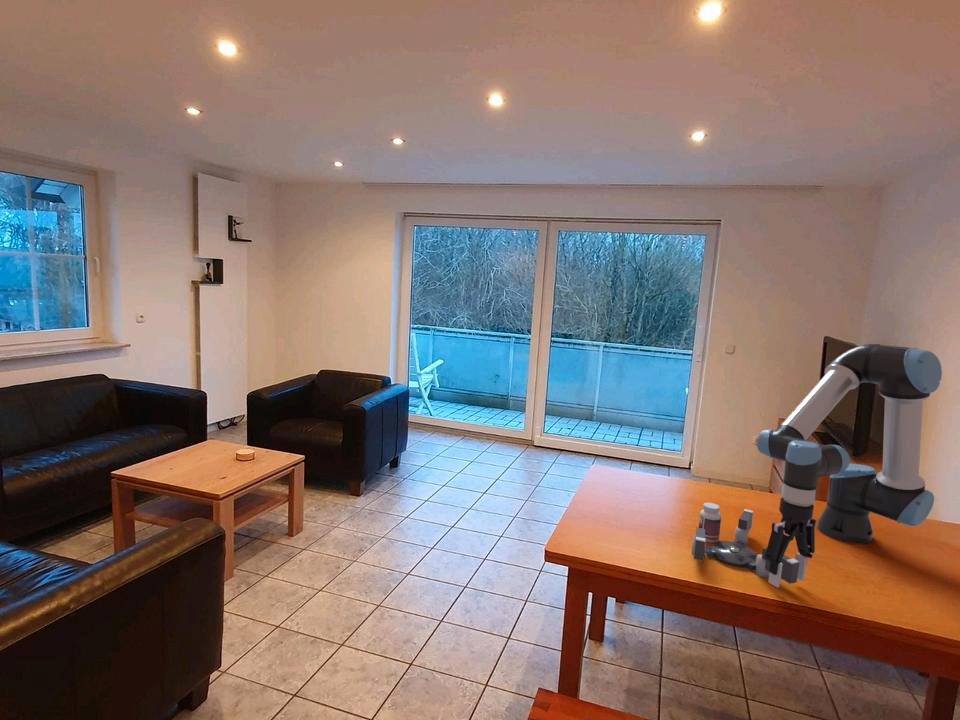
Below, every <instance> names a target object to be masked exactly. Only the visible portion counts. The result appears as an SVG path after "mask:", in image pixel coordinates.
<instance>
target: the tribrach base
mask: <svg viewBox="0 0 960 720" xmlns="http://www.w3.org/2000/svg"><path fill="white" fill-rule="evenodd" d="M705 555H706V557H708V558H714V559H716V560H717V561H718V562H721V563H722V564H725V565H727V566H731V567H735V568H744V569H745V568H746V569H747V570H749V571H750V572H755V571H756V563H757V553H756V552H755V550H753V549H752V548H750V547H749V546H745V544H744V543H741V542H737V541H734V540H733V541H731V540H718V541H716V542H714V543H711V547H710V546H705Z"/></svg>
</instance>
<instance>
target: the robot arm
mask: <svg viewBox="0 0 960 720" xmlns="http://www.w3.org/2000/svg"><path fill="white" fill-rule="evenodd" d="M938 357H939V356H937V355H936V354H935V353H934V352H932V351H930V350H925V349H919V348H916V347H905V346H895V345H886V344H885V345H884V344H880V343H879V344H878V343H867V344H866V343H865V344H862V345H858V346H856V347H853V348H851V349H848V350H846V351H845V352H843V353H841V354H840V355H839V356H837V357H835V358H834V359H833V360H832V361H831V362H830V363H829V364H828V365H826V368H825V369H824V375H823V377H821V378H820V379H819V381H818V382H817V383H816V384H815V385H814V386H813V387H812V389H811V390H810V391H809V392H808V393H807V394H806V396H805V397H804V398H803V399H802V400H801V401H800V402H799V404H798V405H796V406H795V408H794V409H793V410H792V411H791V412H790V413H789V415H788V416H787V417H786V418H785V419H784V420H783V421H782V422H781V424H779V426H778V427H776V429H775V430H774V429H770V428H769V429H764V430H762V431H761V432H760V433H759V434H758V436H757V439H756V447H757V450H758V451H759V453H761V454H763V455H765V456H767V457H769V458H771V459H776V460H779V461H781V462H784V473H783V479H782V481H783V482H782V488H781V498H780V501H779V508H778V509H779V511H778V512H779V513H780V514H781V515H782V518H781V520H780V522H779V523H777V522H772V524H771V532H770V536H769V540H768V544H767V546H766V547H767V550H766V553H765V558H766V559H767V560H769V561H770V569H769V571H770V574H769V578H768V583H769V584H771V585H773V586H774V587H776V588H780V585H781V580H782V579H781V572H782V565H783V564H782V563H780V562H781V560H782V558H783V555H785V553H786V551H787V549H788V547H789V544H790V542H791V541H793V540H794V539H795V543H796V547H797V551H798V552H796V553H795V555H794V556H795V557H794V559H795V560H797V561H799V569H798V576H797V580H800V581H802V582H804V581H805V574H806V568H807V565H808V564H807V563H808V559H812V558H813V554H814V553H815V551H816V545H815V539H816V538H815V537H816V535H815V527H817V529H818V530H819V531H820V532H821V533H823V534H824V535H826V536H828V537H831V538H832V539H836V540H839V541H843V542H847V543H851V544H852V543H853V544H861V545H863V544H868V543H871V542H872V541H873V535H874V532H873V528H872V524H871V523H872V522H871V520H870V513H873V514H876V515H878V516H881V517H884V518H886V519H889V520H892V521H894V522H896V523H898V524H903V525H906V526H909V527H917V526H919V525H921V524H922V523H923V522H924V521H925V520H926V519H927V518H928V516H929V515H930V513H931V511H932V509H933V506H934V502H935V495H934V494H933V492H932V491H930V490H928V489H927V490H926V482H925V479H924V478H923V477H922V476H921V475H920V458H921V440H922V423H923V421H922V420H923V419H922V418H923V405H924V404H923V403H924V401H925V400H927V399H928V398H930V396H931V394H932V393H934V392H935V391H937V390H938V388H939V387H940V385H941V383H940V381H942V378H943V377H942V376H943V375H942V374H943V371H942V364H941V361H940V359H939V358H938ZM862 383H870V384H873V385H874V384H876V385H878V394H879V395H880V396H881V397H882V398H884V415H883V419H884V420H883V442H882V443H883V444H882V445H883V447H882V469H881V471H879V472H877V470H876V469H875V468H873V467H872V466H869V465H864V464H857V463H851V458H850V454H849V453H848V452H847V450H846V449H845V448H843V446H841V445H837V444H825V445H824V444H821V443H817V442H814V441H810V440H807V439H808V438H809V437H810V436H811V435H812V434H813V433H814V431H815V430H816V429H817V428H818V427H819V426H820V424H821V423H822V422H823V421H824V419H825V418H827V416H828V415H829V414H830V413H831V412H832V411H833V410H834V408H835V407H836V405H838V404H839V403H840V401H841V400H843V398H844V397H845V396H846V394H847V393H848V392H849V391H850V390H855V389H856V388H858V387H859V386H860V385H861V384H862ZM824 476H829V485H828V491H827V500H826V505H825V507H824V509H823V510H822V513H821V514H820V516H819V518H818V519H817V520H816V519H814V518H813V515H814V508H815V506H814V504H815V503H816V495H817V484H818V479H819V478H821V477H824Z"/></svg>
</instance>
